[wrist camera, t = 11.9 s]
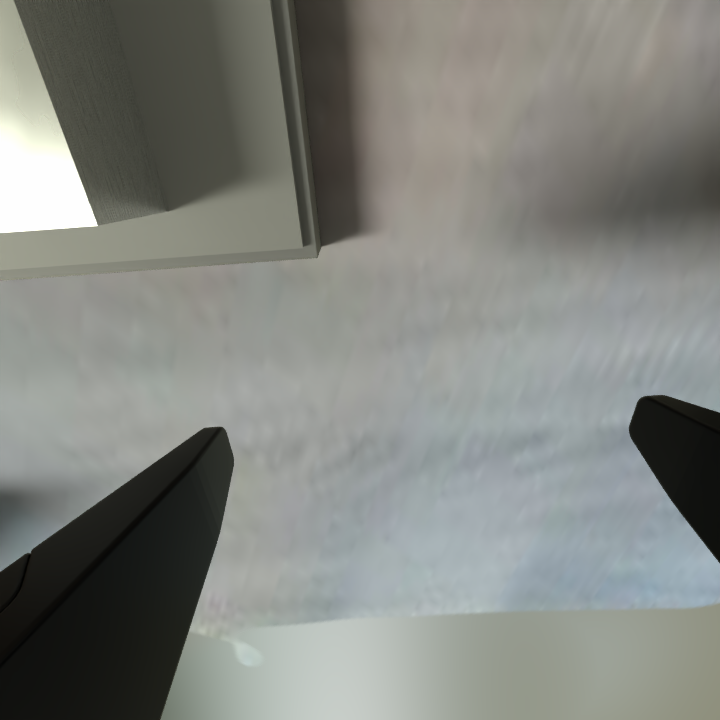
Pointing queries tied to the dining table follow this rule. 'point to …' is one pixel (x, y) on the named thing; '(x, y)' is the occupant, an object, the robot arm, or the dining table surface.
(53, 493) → the dining table surface
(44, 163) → the block
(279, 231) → the stand
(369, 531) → the dining table surface
